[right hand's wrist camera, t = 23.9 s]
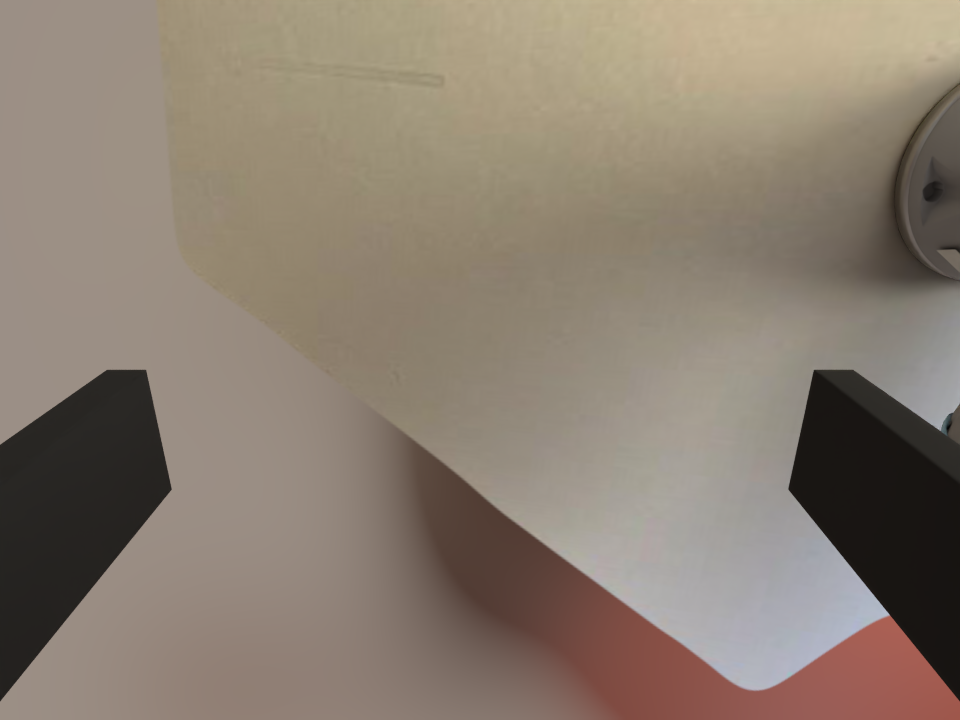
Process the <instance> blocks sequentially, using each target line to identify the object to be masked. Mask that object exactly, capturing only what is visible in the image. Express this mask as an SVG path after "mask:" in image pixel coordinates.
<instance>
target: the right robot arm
mask: <svg viewBox="0 0 960 720" xmlns="http://www.w3.org/2000/svg"><path fill="white" fill-rule="evenodd" d="M895 214H896V220H897V224H898V228H899V231H900V233H901V236H902V238H903V240H904V242H905V244H906V246H907V247H908V249H909V250H910V251H911V253H912V254H913V255H914V256H915V257H916V258H917V259H918V260H919V261H920V262H921V263H923V264H924V265H925V266H927V267H928V268H930V269H931V270H933V271H935V272H937V273H939V274H942V275H944V276H947V277H950V278H953V279H956V280H959V281H960V84H959V85H958V86H957V87H955V88H954V89H953V90H952V91H951V92H949V93H948V94H947V95H946V96H945V97H944V98H943V99H942V100H941V101H940V102H939V103H938V104H937V105H936V106H935V107H934V108H933V109H932V111H931V112H930V113H929V114H928V115H927V117H926V118H925V119H924V121H923V122H922V123H921V125H920V126H919V128H918V129H917V131H916V132H915V134H914V136H913V138H912V139H911V141H910V143H909V145H908V147H907V149H906V152H905V154H904V156H903V159H902V162H901V165H900V168H899V172H898V176H897V181H896V187H895ZM788 490H789V491H790V492H791V493H792V495H793V496H794V497H795V498H796V499H797V501H798V502H799V503H800V504H801V506H802V507H803V508H804V509H805V511H806V512H807V513H808V514H809V516H810V517H811V518H812V519H813V520H814V522H815V523H816V524H817V525H818V527H819V528H820V529H821V530H822V532H823V533H824V534H825V535H826V537H827V538H828V539H829V540H830V541H831V543H832V544H833V545H834V546H835V548H836V549H837V550H838V551H839V553H840V554H841V555H842V556H843V558H844V559H845V560H846V561H847V562H848V564H849V565H850V566H851V567H852V569H853V570H854V571H855V572H856V574H857V575H858V576H859V577H860V579H861V580H862V581H863V582H864V583H865V585H866V586H867V587H868V588H869V590H870V591H871V592H872V593H873V595H874V596H875V597H876V598H877V600H878V601H879V602H880V603H881V604H882V606H883V607H884V608H885V609H886V611H887V612H888V613H889V614H890V616H891V617H892V618H893V619H894V621H895V622H896V623H897V624H898V625H899V627H900V628H901V629H902V630H903V632H904V633H905V634H906V635H907V637H908V638H909V639H910V640H911V642H912V643H913V644H914V645H915V646H916V648H917V649H918V650H919V651H920V653H921V654H922V655H923V656H924V658H925V659H926V660H927V661H928V663H929V664H930V665H931V666H932V667H933V669H934V670H935V671H936V672H937V674H938V675H939V676H940V677H941V679H942V680H943V681H944V682H945V684H946V685H947V686H948V687H949V688H950V690H951V691H952V692H953V693H954V695H955V696H956V697H957V698H958V700H959V701H960V404H959V406H958V407H957V409H956V410H955V412H954V413H951V414H949V415H948V416H947V418H946V419H945V420H944V422H943V425H942V427H941V431H939V430H938V429H937V428H935V427H934V426H932V425H931V424H929V423H928V422H927V421H925V420H924V419H922V418H921V417H919V416H918V415H917V414H915V413H914V412H912V411H911V410H909V409H908V408H907V407H905V406H904V405H902V404H901V403H899V402H898V401H897V400H895V399H894V398H892V397H891V396H889V395H888V394H887V393H885V392H884V391H882V390H881V389H879V388H878V387H877V386H875V385H874V384H872V383H871V382H869V381H868V380H867V379H865V378H864V377H862V376H861V375H859V374H858V373H857V372H855V371H854V370H814V372H813V377H812V381H811V386H810V391H809V395H808V400H807V405H806V409H805V414H804V419H803V423H802V428H801V433H800V437H799V442H798V447H797V451H796V456H795V461H794V465H793V470H792V475H791V479H790V484H789V489H788ZM170 491H171V484H170V479H169V475H168V470H167V465H166V461H165V456H164V451H163V447H162V442H161V438H160V433H159V428H158V423H157V419H156V414H155V410H154V405H153V400H152V395H151V391H150V386H149V381H148V377H147V372H146V370H106V371H105V372H103V373H102V374H101V375H99V376H98V377H96V378H95V379H93V380H92V381H91V382H89V383H88V384H86V385H85V386H83V387H82V388H81V389H79V390H78V391H76V392H75V393H73V394H72V395H71V396H69V397H68V398H66V399H65V400H63V401H62V402H61V403H59V404H58V405H56V406H55V407H53V408H52V409H51V410H49V411H48V412H46V413H45V414H43V415H42V416H41V417H39V418H38V419H36V420H35V421H33V422H32V423H31V424H29V425H28V426H26V427H25V428H23V429H22V430H21V431H19V432H18V433H16V434H15V435H14V436H12V437H11V438H9V439H8V440H6V441H5V442H4V443H2V444H1V445H0V701H1V700H2V698H3V697H4V696H5V695H6V693H7V692H8V691H9V690H10V688H11V687H12V686H13V685H14V684H15V682H16V681H17V680H18V679H19V677H20V676H21V675H22V674H23V672H24V671H25V670H26V669H27V667H28V666H29V665H30V664H31V662H32V661H33V660H34V659H35V658H36V656H37V655H38V654H39V653H40V651H41V650H42V649H43V648H44V646H45V645H46V644H47V643H48V642H49V640H50V639H51V638H52V637H53V635H54V634H55V633H56V632H57V630H58V629H59V628H60V627H61V625H62V624H63V623H64V622H65V621H66V619H67V618H68V617H69V616H70V614H71V613H72V612H73V611H74V609H75V608H76V607H77V606H78V604H79V603H80V602H81V601H82V599H83V598H84V597H85V596H86V595H87V593H88V592H89V591H90V590H91V588H92V587H93V586H94V585H95V583H96V582H97V581H98V580H99V579H100V577H101V576H102V575H103V574H104V572H105V571H106V570H107V569H108V567H109V566H110V565H111V564H112V562H113V561H114V560H115V559H116V558H117V556H118V555H119V554H120V553H121V551H122V550H123V549H124V548H125V546H126V545H127V544H128V543H129V541H130V540H131V539H132V538H133V537H134V535H135V534H136V533H137V532H138V530H139V529H140V528H141V527H142V525H143V524H144V523H145V522H146V520H147V519H148V518H149V517H150V515H151V514H152V513H153V512H154V511H155V509H156V508H157V507H158V506H159V504H160V503H161V502H162V501H163V499H164V498H165V497H166V496H167V495H168V493H169V492H170Z"/></svg>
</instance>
